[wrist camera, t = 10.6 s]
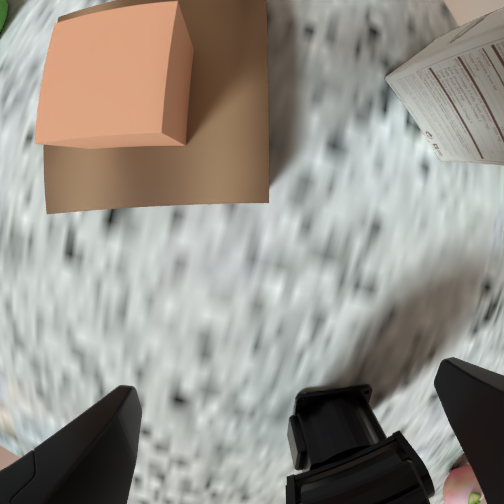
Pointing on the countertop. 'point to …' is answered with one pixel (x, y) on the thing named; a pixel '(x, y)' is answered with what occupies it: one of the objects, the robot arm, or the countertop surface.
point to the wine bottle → (3, 12)
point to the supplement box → (459, 91)
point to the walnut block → (198, 125)
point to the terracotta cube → (117, 79)
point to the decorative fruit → (462, 487)
